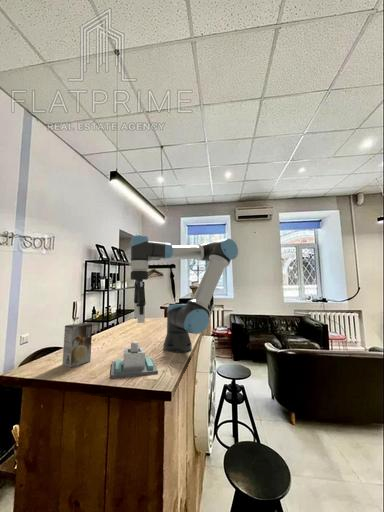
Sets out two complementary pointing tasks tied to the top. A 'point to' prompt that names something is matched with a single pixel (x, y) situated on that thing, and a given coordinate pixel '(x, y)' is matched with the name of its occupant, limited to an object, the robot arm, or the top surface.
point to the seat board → (149, 369)
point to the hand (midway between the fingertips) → (139, 320)
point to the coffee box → (77, 344)
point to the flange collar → (133, 359)
